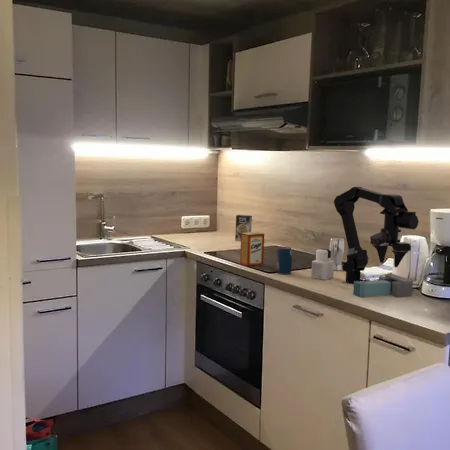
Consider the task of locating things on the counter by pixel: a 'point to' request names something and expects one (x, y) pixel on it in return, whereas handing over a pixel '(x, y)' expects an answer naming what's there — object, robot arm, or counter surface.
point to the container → (322, 265)
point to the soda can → (284, 260)
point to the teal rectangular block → (371, 288)
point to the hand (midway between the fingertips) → (388, 264)
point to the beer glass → (337, 252)
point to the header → (399, 285)
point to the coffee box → (242, 225)
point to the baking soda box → (252, 248)
